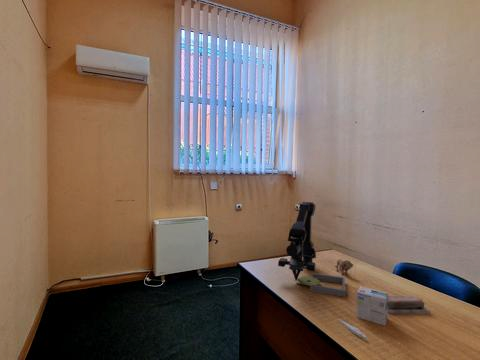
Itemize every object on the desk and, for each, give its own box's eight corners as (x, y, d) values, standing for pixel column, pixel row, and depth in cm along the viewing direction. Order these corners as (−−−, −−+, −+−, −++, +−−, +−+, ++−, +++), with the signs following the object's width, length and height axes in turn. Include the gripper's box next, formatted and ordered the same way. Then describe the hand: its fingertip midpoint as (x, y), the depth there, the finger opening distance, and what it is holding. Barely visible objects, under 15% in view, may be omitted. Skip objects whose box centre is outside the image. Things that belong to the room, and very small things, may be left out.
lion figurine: (354, 277, 149) (354, 261, 148) (345, 278, 147) (346, 262, 147) (338, 267, 163) (339, 252, 163) (330, 268, 162) (331, 253, 161)
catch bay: (312, 278, 146) (312, 273, 146) (344, 283, 141) (344, 277, 141) (310, 291, 131) (310, 285, 131) (345, 296, 126) (345, 290, 126)
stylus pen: (369, 340, 95) (369, 335, 95) (363, 342, 94) (363, 336, 94) (339, 319, 109) (339, 315, 109) (333, 321, 108) (333, 316, 108)
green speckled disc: (294, 285, 138) (294, 281, 138) (301, 278, 147) (302, 274, 147) (315, 291, 132) (315, 287, 131) (322, 283, 141) (322, 279, 141)
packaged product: (388, 303, 112) (375, 292, 122) (387, 315, 112) (375, 302, 122) (431, 303, 112) (415, 292, 122) (430, 315, 112) (415, 303, 122)
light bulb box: (387, 318, 109) (388, 292, 108) (385, 326, 103) (386, 299, 102) (359, 310, 115) (359, 285, 114) (355, 317, 109) (356, 291, 108)
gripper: (276, 253, 136) (275, 283, 137) (314, 258, 130) (313, 290, 131) (280, 247, 147) (279, 275, 148) (316, 251, 140) (315, 281, 141)
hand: (296, 280), depth 141 cm, fingers closed
